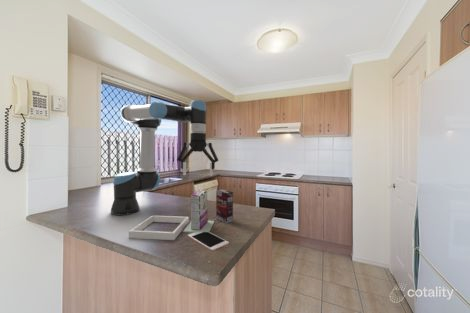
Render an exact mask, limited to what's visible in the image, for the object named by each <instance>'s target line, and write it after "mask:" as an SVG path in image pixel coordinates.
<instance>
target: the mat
mask: <svg viewBox="0 0 470 313" xmlns="http://www.w3.org/2000/svg"><path fill="white" fill-rule="evenodd" d="M214 224H215V220H208V221H207V223H206V224H205V225H204V226H203V227H202V229H201V230H192V229H191V221H189V223H188V224H187V225H186V227H185V228H184V229H183V230H182V232H183V233H189V234H191V233H194V232H210V231H211V229H212V227H213V225H214ZM210 233H211V232H210Z"/></svg>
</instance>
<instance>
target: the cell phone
mask: <svg viewBox="0 0 470 313" xmlns="http://www.w3.org/2000/svg"><path fill="white" fill-rule="evenodd" d="M187 238H190V239H191V240H193V241H195V242H197V243H198V244H200V245H201V246H203V247H205V248H206V249H208V250H209V251H212V252H214V251H216V250H218V249H221V248H222V247H223V248H224V247H225V246H227V245H229V244H230V242H229V241H228V240H225V239H223V238H222V237H220V236H218V235H216V234H215V233H212V232H194V233H189V234H187Z"/></svg>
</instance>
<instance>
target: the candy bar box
mask: <svg viewBox="0 0 470 313" xmlns="http://www.w3.org/2000/svg"><path fill="white" fill-rule="evenodd" d="M207 221H209V220H208V190H200V189H199V190H197V191H195V192H194V193H192V194H191V195H190V222H191V229H192V230H201V229H202V227H203V226H204V225H205V224H206V223H207Z"/></svg>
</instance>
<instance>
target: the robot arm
mask: <svg viewBox="0 0 470 313" xmlns="http://www.w3.org/2000/svg"><path fill="white" fill-rule="evenodd" d="M120 117H121V118H122V120H124V122H125V123H128V124H130V125H136V126H137V129H138V130H139V131H140V132H139V133H140V134H139V135H140V138H139V139H140V140H139V145H140V146H139V147H140V148H139V168H138V169H137V172H135V171H128V172H121V173H118V174H116V175H114V177H113V201H112V205H111V207H110V214H111V215H113V216H124V215H125V216H126V215H131V214H135V213H137V212H138V211H139V210H140V204H139V202H138V199H137V193H141V192H147V191H153V190H156V189H157V188H158V187H160V182H161V175H160V173H159V172H158V170H157V169H156V168H155V143H156V142H155V138H156V136H155V135H156V131H157V130H158V127H160V125H161V124H162V120H167V121H173V122H177V123H183V124H184V123H185V124H186V123H188V122H189V123H190V135H189V136H190V137H189V138H190V139H189V140H190V142H183V147H182V149H181V151H180V153H179V155H178V157H177V159H176V160H177V161H178V162H180V164H181V165H180V167H181V169H182V176H186V175H187V161H186V160H187V159H188V158H189V157H190V156H191V155H192V153H195V152H200V153H201V152H202V153H203V154H204V155H205V156H206V157H207V159H208V160H209V161H210V162H209V176H210V177H213V175H214V174H213V170H215V168H216V167H215V165H216V163H218V162H219V158H218V156H217V153H216V152H215V150H214V147H213V143H212V142H207V140H206V139H207V134H206V132H207V104H206V102H205V101H204V100H200V99H199V100H198V99H197V100H191V101H190V106H180V105H176V104H170V103H164V102H163V101H152V102H151V103H150V104H144V105H143V104H142V105H137V104H127V105H124V106H123V107H122V108H121V110H120ZM189 146H190V149H189V150H188V151H187V149H188V147H189ZM206 147H207V148H209V150H210V152H211V154H210V153H209V151H208V150H207V149H206ZM186 152H187V153H186ZM185 153H186V154H185Z"/></svg>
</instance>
